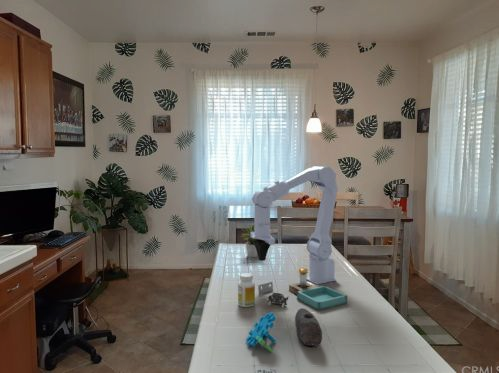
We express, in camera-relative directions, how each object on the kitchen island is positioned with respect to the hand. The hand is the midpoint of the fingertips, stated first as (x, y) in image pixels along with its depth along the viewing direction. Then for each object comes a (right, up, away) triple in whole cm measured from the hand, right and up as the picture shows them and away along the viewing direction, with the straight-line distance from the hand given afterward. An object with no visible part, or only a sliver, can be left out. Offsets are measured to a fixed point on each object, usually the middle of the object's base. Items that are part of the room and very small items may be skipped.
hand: (262, 260), depth 137 cm
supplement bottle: (-6, -11, -16) cm, 20 cm away
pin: (+14, -10, -5) cm, 18 cm away
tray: (+19, -11, -13) cm, 26 cm away
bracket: (+4, -11, -8) cm, 14 cm away
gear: (-2, -13, -42) cm, 44 cm away
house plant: (-4, -7, +45) cm, 46 cm away
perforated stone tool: (+10, -13, -38) cm, 41 cm away
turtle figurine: (+8, -12, -18) cm, 23 cm away
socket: (+14, -10, -5) cm, 18 cm away
